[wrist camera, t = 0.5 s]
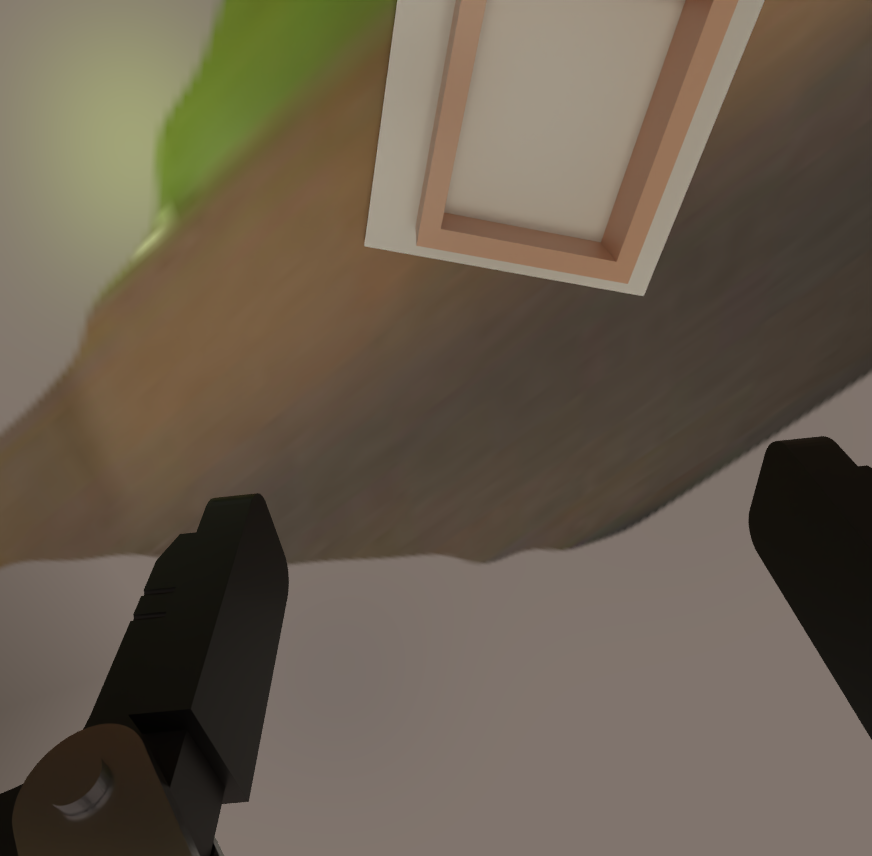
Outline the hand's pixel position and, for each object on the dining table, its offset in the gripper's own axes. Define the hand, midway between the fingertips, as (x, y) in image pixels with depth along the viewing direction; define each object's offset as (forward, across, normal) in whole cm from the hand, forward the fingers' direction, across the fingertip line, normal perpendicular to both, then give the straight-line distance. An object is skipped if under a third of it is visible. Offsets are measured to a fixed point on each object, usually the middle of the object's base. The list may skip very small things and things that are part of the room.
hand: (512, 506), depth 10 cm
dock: (+26, -6, -1) cm, 27 cm away
